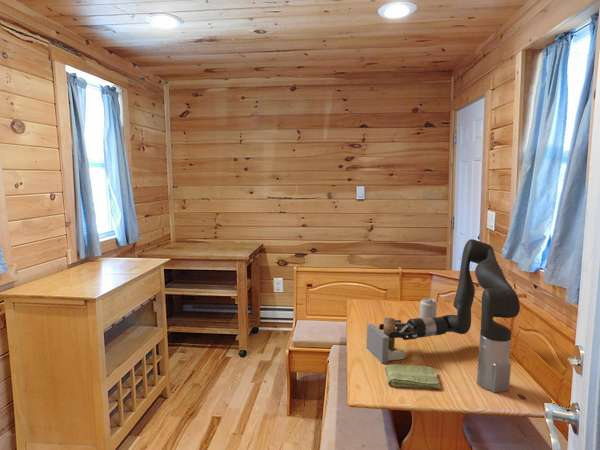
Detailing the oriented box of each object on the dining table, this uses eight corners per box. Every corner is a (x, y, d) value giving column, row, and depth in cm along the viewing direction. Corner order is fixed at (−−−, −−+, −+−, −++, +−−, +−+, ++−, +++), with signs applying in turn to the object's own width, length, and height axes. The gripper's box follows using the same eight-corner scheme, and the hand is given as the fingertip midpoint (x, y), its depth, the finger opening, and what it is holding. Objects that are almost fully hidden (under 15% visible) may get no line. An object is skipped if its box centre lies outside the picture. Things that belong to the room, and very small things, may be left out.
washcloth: (442, 392, 135) (443, 382, 135) (387, 388, 137) (388, 379, 137) (433, 372, 148) (434, 364, 148) (383, 369, 150) (384, 361, 150)
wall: (387, 362, 155) (388, 337, 153) (381, 363, 154) (383, 337, 153) (371, 347, 168) (372, 323, 167) (366, 348, 167) (367, 324, 166)
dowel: (396, 355, 161) (397, 321, 159) (385, 356, 160) (387, 322, 158) (390, 350, 165) (392, 317, 163) (380, 352, 164) (382, 318, 162)
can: (436, 327, 190) (438, 302, 189) (419, 326, 192) (421, 301, 190) (434, 322, 198) (436, 297, 196) (418, 320, 199) (419, 296, 198)
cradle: (404, 358, 157) (404, 348, 157) (387, 360, 156) (387, 350, 155) (389, 345, 169) (390, 336, 168) (373, 347, 167) (373, 338, 166)
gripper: (412, 312, 171) (376, 315, 167) (432, 325, 157) (393, 328, 153) (411, 330, 172) (376, 333, 168) (431, 343, 158) (392, 347, 154)
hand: (384, 331), depth 160 cm, fingers open, 8 cm apart
